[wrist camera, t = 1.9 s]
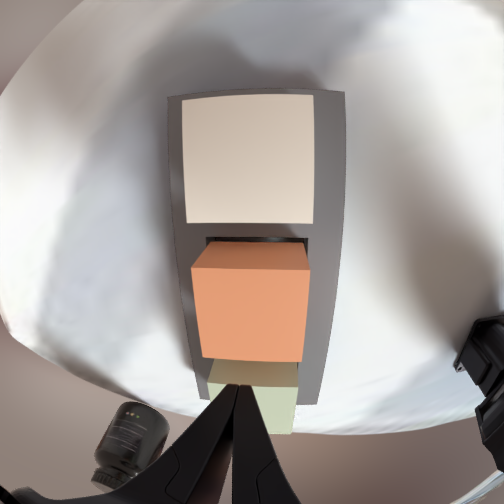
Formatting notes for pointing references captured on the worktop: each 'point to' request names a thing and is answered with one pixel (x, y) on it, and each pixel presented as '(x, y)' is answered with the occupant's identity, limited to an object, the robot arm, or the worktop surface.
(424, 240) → the worktop surface
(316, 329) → the console
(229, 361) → the sage button
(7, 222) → the worktop surface
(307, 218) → the cream button
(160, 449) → the supplement bottle
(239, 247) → the terracotta button
